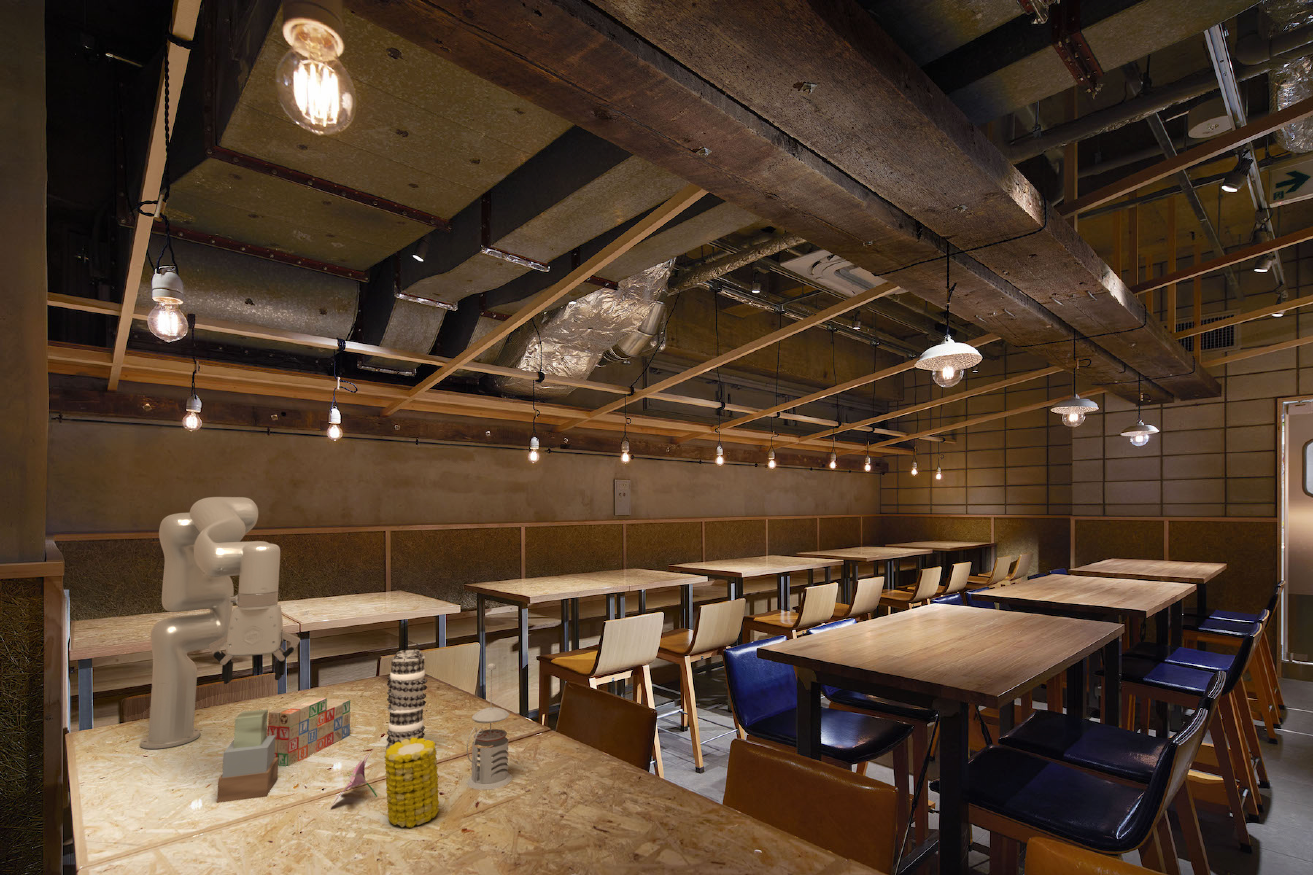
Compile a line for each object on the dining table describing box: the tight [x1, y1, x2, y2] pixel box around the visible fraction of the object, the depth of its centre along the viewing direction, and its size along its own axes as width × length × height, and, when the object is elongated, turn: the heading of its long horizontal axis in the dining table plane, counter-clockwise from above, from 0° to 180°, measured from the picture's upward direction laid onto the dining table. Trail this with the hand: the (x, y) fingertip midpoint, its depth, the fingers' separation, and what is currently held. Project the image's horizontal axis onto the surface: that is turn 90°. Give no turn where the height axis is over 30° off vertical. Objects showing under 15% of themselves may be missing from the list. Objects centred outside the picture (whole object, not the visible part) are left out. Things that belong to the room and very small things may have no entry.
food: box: [384, 737, 440, 829], centre depth 127 cm, size 15×12×10 cm
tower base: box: [216, 757, 279, 804], centre depth 140 cm, size 9×9×5 cm
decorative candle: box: [385, 649, 428, 749], centre depth 158 cm, size 9×9×25 cm
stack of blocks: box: [267, 696, 351, 767], centre depth 164 cm, size 21×6×12 cm, turn 167°
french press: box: [466, 663, 513, 791], centre depth 144 cm, size 10×12×25 cm
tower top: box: [221, 735, 275, 778], centre depth 140 cm, size 8×8×5 cm
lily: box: [330, 747, 378, 809], centre depth 136 cm, size 12×12×10 cm
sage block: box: [233, 709, 269, 748], centre depth 141 cm, size 5×5×6 cm
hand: (253, 680), depth 142 cm, fingers open, 9 cm apart
